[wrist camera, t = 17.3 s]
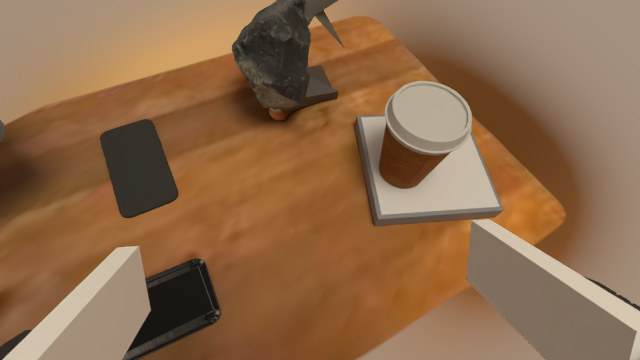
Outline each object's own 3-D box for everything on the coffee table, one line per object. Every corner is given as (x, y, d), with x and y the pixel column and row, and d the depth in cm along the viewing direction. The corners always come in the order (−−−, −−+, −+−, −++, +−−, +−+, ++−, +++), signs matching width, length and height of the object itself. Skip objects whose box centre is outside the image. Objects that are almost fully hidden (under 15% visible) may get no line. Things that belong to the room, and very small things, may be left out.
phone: (121, 220, 42) (97, 133, 48) (124, 222, 43) (100, 136, 49) (180, 197, 44) (150, 116, 50) (182, 200, 45) (152, 120, 51)
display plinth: (374, 226, 44) (378, 218, 42) (354, 125, 53) (357, 114, 50) (494, 217, 46) (504, 209, 44) (456, 121, 54) (463, 110, 52)
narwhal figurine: (234, 81, 56) (210, -32, 40) (321, 65, 59) (330, -46, 43) (254, 148, 49) (234, 44, 34) (350, 126, 52) (373, 21, 37)
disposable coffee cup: (382, 131, 49) (405, 66, 39) (444, 158, 47) (485, 98, 37) (355, 180, 45) (373, 121, 34) (422, 212, 43) (463, 160, 32)
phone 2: (222, 317, 37) (72, 388, 33) (224, 319, 38) (79, 387, 34) (201, 254, 40) (63, 311, 36) (204, 257, 41) (69, 312, 37)
